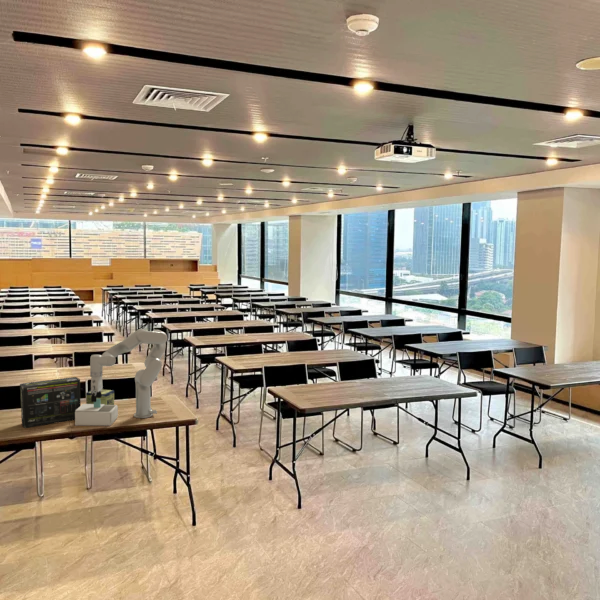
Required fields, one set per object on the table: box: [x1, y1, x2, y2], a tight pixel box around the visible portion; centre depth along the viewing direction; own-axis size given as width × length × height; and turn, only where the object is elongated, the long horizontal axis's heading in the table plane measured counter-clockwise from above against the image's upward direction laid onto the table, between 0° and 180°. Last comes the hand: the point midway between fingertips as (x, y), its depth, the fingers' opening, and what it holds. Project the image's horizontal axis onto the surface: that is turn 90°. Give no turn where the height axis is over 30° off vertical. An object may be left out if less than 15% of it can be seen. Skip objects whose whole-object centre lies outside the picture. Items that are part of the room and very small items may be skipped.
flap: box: [75, 399, 105, 412], centre depth 370 cm, size 14×15×6 cm
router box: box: [19, 376, 82, 429], centre depth 369 cm, size 36×11×27 cm, turn 126°
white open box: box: [74, 404, 119, 427], centre depth 371 cm, size 23×16×9 cm
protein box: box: [85, 389, 115, 405], centre depth 388 cm, size 10×16×16 cm
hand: (96, 399), depth 369 cm, fingers open, 9 cm apart
